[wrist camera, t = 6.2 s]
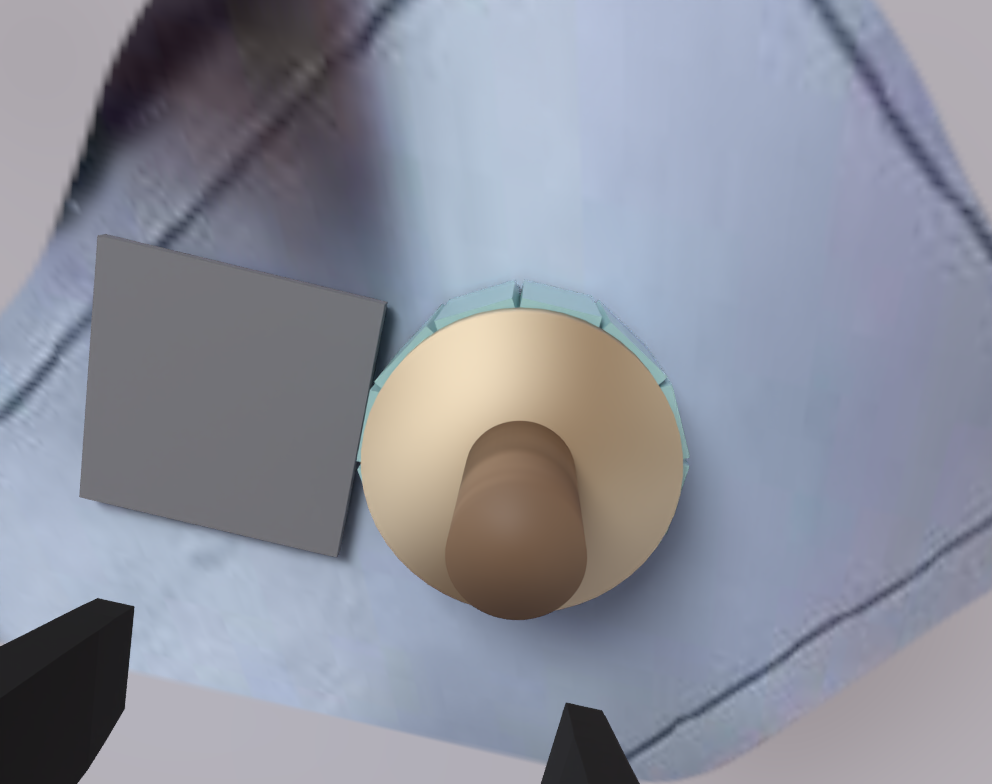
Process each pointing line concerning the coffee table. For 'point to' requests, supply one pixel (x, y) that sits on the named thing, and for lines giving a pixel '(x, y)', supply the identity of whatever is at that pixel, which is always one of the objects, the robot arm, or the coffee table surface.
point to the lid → (522, 461)
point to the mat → (225, 394)
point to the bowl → (542, 299)
